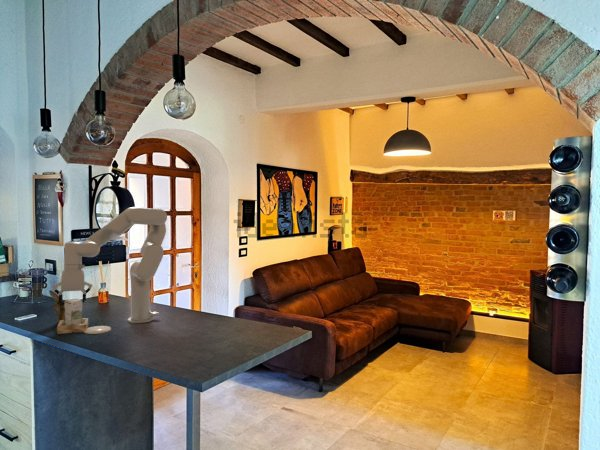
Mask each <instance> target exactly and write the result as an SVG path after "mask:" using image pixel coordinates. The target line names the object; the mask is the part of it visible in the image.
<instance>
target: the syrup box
mask: <svg viewBox="0 0 600 450" xmlns="http://www.w3.org/2000/svg"><path fill="white" fill-rule="evenodd" d="M64 300H65V302H64V325H75V324H82V318H83V299H80V298H72V299H70V300H69V299H64Z"/></svg>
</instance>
